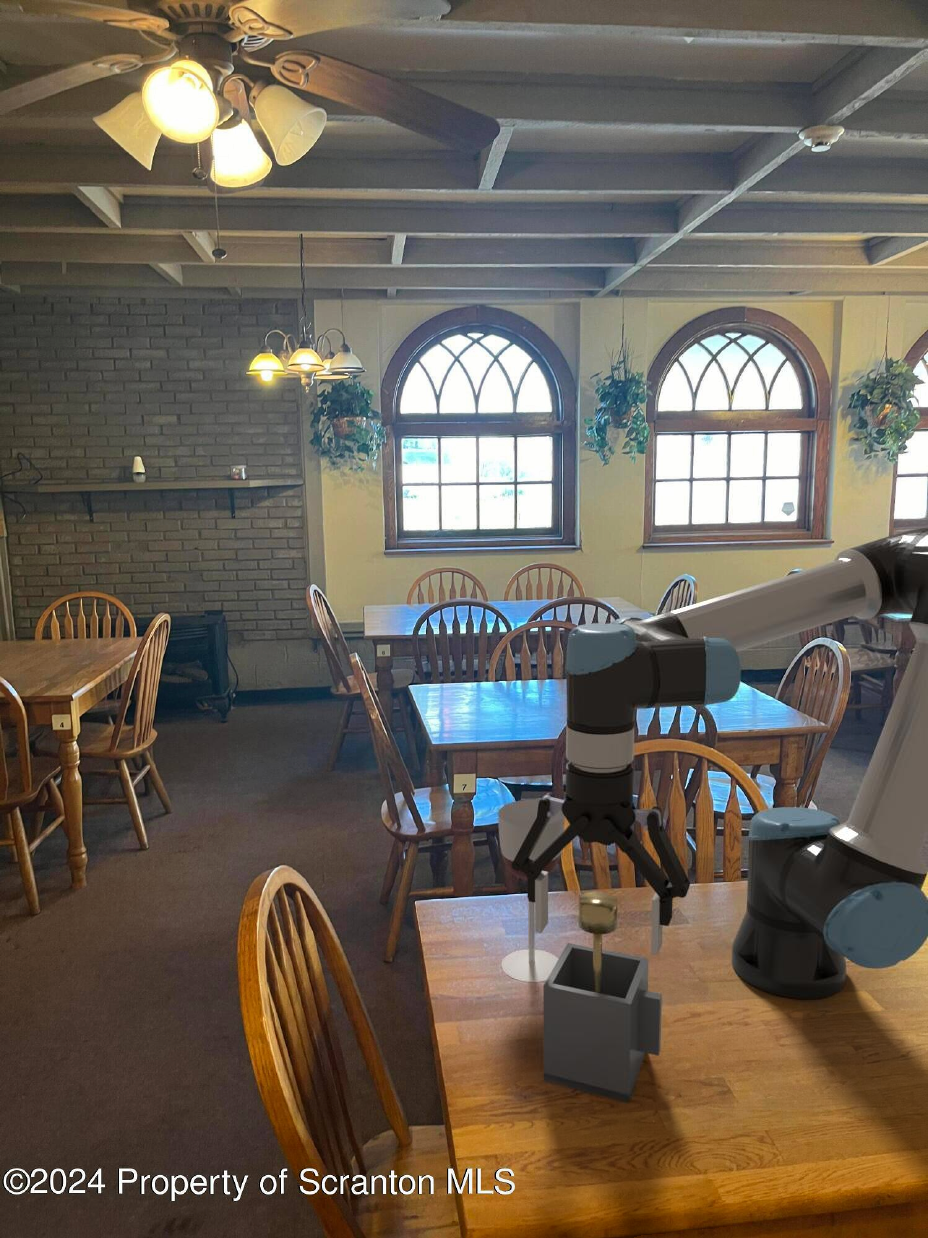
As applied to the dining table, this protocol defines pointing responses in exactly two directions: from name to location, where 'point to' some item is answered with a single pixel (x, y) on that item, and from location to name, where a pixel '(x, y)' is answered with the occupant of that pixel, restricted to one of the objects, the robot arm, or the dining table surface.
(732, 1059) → the dining table surface
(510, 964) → the wineglass
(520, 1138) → the dining table surface
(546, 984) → the press pot
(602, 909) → the plunger
